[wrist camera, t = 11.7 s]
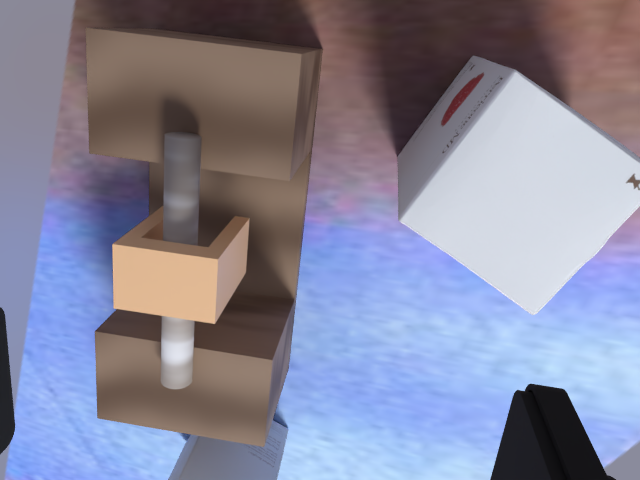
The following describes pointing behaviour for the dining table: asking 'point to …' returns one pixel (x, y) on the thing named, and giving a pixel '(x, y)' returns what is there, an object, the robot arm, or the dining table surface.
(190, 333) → the rod slider mechanism
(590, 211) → the supplement box
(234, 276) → the cord clip
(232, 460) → the supplement box
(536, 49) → the dining table surface
